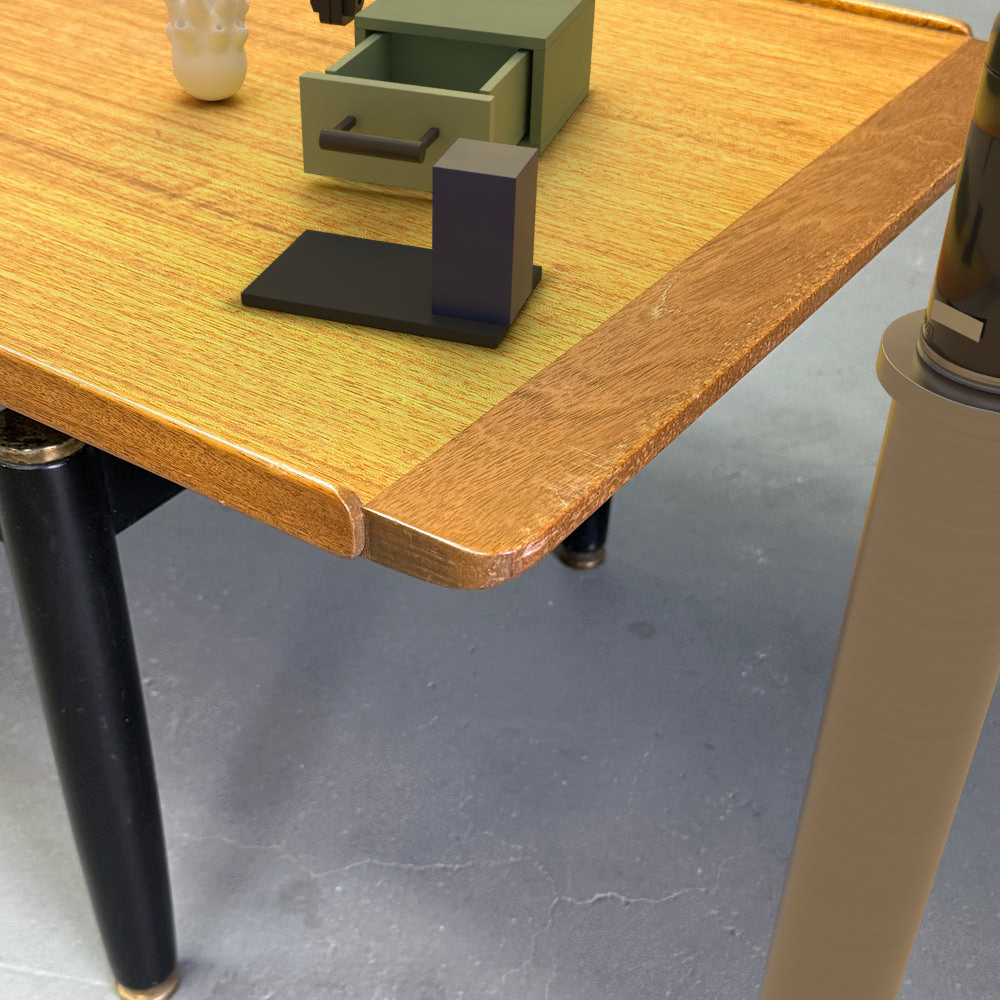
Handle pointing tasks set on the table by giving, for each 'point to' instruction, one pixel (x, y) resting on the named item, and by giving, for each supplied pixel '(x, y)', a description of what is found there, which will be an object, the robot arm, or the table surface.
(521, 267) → the navy box
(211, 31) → the figurine
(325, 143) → the drawer
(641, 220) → the table surface
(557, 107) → the cabinet
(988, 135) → the robot arm
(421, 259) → the mat
